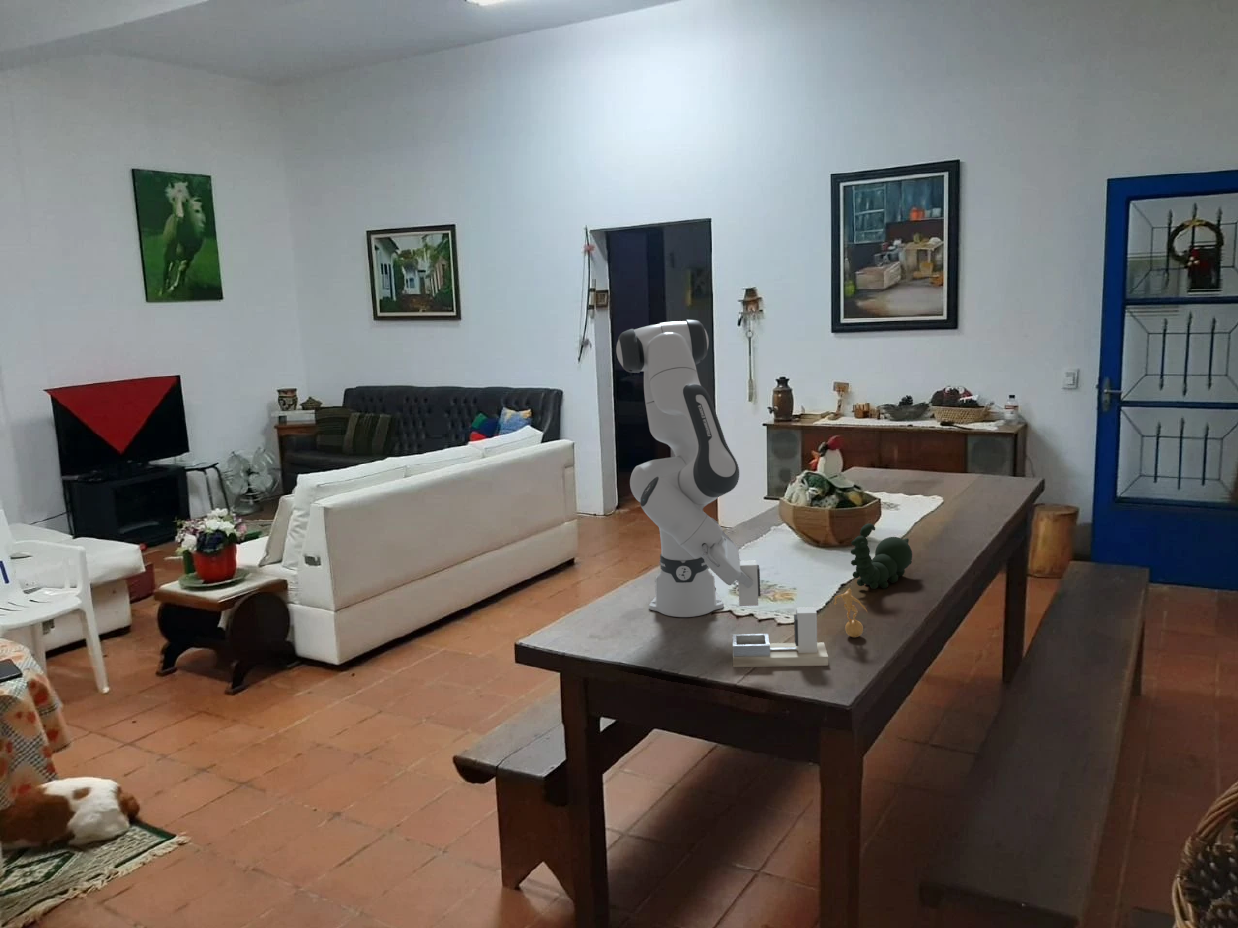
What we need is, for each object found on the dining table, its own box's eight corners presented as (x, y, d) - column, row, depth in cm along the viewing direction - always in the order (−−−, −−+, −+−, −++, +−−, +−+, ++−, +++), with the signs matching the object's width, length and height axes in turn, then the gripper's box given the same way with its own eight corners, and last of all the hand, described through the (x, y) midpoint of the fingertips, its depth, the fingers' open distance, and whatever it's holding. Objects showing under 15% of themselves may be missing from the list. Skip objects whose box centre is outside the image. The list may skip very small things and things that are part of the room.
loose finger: (739, 600, 209) (737, 560, 207) (760, 599, 209) (758, 560, 207) (739, 605, 206) (738, 565, 204) (760, 605, 205) (759, 564, 203)
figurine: (875, 638, 217) (874, 587, 215) (861, 646, 213) (860, 594, 211) (842, 630, 223) (842, 580, 221) (828, 638, 219) (827, 587, 216)
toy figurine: (876, 604, 243) (925, 570, 259) (872, 533, 238) (922, 504, 255) (844, 596, 250) (893, 564, 266) (839, 528, 245) (890, 499, 261)
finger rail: (732, 652, 214) (730, 605, 212) (823, 650, 212) (823, 603, 210) (733, 666, 206) (731, 618, 204) (828, 665, 204) (827, 616, 202)
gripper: (713, 541, 194) (763, 586, 195) (713, 516, 214) (758, 557, 215) (692, 563, 196) (742, 608, 197) (693, 536, 216) (739, 576, 217)
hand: (750, 581), depth 206 cm, fingers closed on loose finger, 3 cm apart
